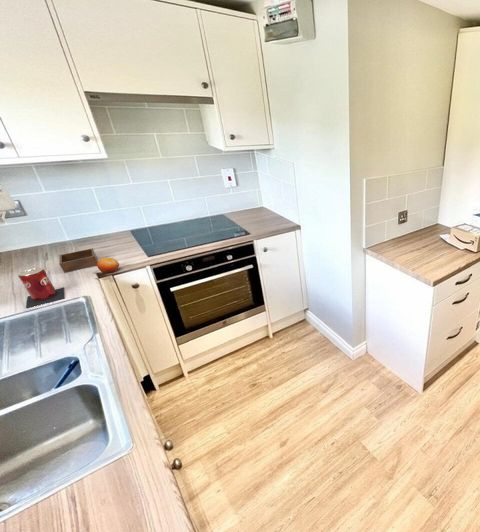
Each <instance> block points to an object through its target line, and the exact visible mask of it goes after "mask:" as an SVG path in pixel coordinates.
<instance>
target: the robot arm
mask: <svg viewBox="0 0 480 532" xmlns="http://www.w3.org/2000/svg"><path fill="white" fill-rule="evenodd" d="M16 208H17V203H16V202H15V199H14V198H13V197H12V196H11V194H10V193H9V192H8V191H7V190H5V189H3V186H2V184H0V215H1V216H0V223H7V219H6V214H7V211H10V210H15V209H16Z"/></svg>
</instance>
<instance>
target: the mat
mask: <svg viewBox="0 0 480 532" xmlns="http://www.w3.org/2000/svg"><path fill="white" fill-rule="evenodd" d="M55 290H56V292H57V294H56V295H55V296H54V297H52V298H50V299H47V300H43V301H34V300H32V298H31V297H30V295H28V296H27V297H26V304H25V309H26V308H27V309H30V307H31V308H34V306H35V307H38V306H42V305H45V303H46V304H49V303H53V302H57V301H61V300H64V299H65V298H66V297H65V287H59V288H55ZM41 304H42V305H41ZM37 305H38V306H37Z"/></svg>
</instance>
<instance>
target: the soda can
mask: <svg viewBox="0 0 480 532" xmlns="http://www.w3.org/2000/svg"><path fill="white" fill-rule="evenodd" d="M17 277H18V279H19V280H20V282H21V283H22V285H23V287H24V288H25V291H26V292H27V293H28V296H30V297H31V298H32V300H34V301H43V300H47V299H50V298H52V297H54V296H55V295H56V294H57V292H56V290H55V289H56V288H55V286H54V284H53V283H52V281H51V279H50V277H49V276H48V274H47V272H46V270H45V269H44V268H42V267H33V268H29V269H25V270H22V271H20V272H19V273H18V275H17Z"/></svg>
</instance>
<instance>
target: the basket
mask: <svg viewBox="0 0 480 532" xmlns="http://www.w3.org/2000/svg"><path fill="white" fill-rule="evenodd" d="M58 256H59V257H58V258H59V259H58V261H59V262H58V263H59V266H60V268H61V270H62V271H63V273H64V274H66V273H71V272H75V271H79V270H83V269H88V268H89V269H90V268H92V267H97V262H98V260H99V258H98V256H97V254H96V252H95V249H94V248H93V247H91V248H87V249H82V250H77V251H72V252H67V253H62V254H59V255H58Z"/></svg>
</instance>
